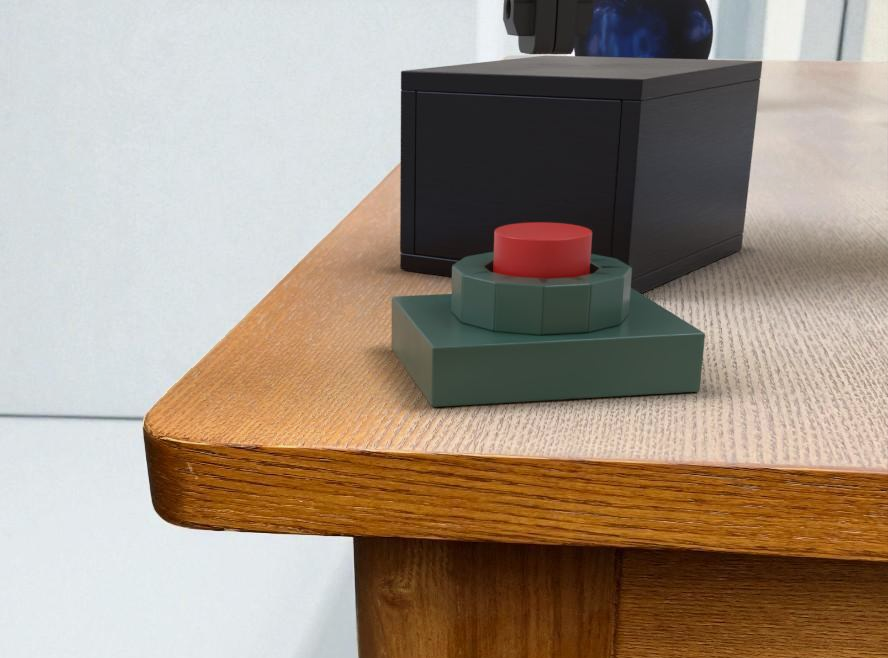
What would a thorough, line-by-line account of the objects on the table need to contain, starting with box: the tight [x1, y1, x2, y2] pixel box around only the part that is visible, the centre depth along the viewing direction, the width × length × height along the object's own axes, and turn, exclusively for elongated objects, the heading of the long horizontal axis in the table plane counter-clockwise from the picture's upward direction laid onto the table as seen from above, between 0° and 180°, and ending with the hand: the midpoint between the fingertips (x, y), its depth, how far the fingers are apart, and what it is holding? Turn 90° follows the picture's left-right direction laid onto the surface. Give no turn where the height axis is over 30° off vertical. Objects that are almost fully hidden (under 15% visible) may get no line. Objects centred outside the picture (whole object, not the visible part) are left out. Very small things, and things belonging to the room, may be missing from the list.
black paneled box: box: [399, 55, 763, 294], centre depth 67 cm, size 15×13×10 cm
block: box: [391, 252, 706, 408], centre depth 49 cm, size 10×8×4 cm
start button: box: [493, 222, 592, 279], centre depth 48 cm, size 4×4×2 cm
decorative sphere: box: [573, 0, 714, 60], centre depth 143 cm, size 15×15×15 cm
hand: (544, 52), depth 45 cm, fingers closed
